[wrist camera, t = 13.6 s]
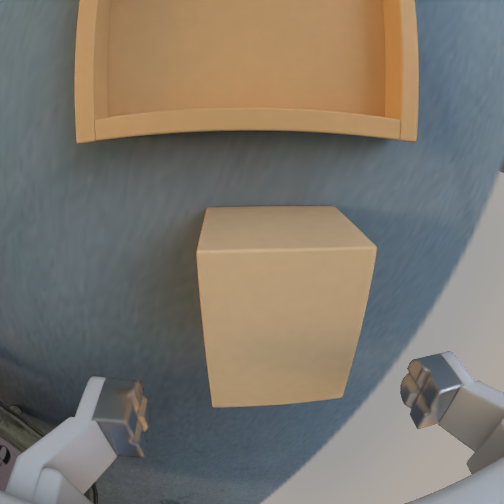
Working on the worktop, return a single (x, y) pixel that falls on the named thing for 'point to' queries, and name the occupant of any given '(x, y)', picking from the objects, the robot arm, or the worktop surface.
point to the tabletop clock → (20, 444)
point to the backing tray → (246, 67)
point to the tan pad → (281, 302)
